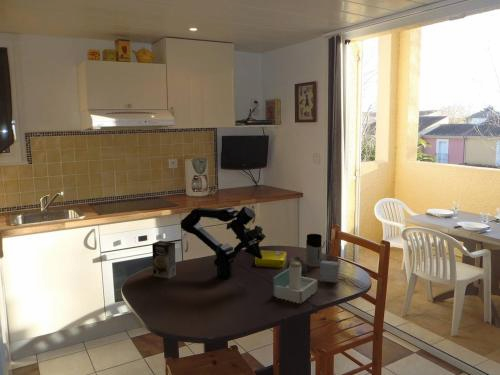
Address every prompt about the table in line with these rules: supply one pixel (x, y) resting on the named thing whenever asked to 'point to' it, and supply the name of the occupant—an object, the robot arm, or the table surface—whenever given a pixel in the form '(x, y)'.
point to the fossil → (303, 267)
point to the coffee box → (164, 259)
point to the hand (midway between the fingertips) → (261, 258)
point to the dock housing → (295, 294)
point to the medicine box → (329, 271)
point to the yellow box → (271, 259)
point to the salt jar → (295, 275)
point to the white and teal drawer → (285, 281)
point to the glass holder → (314, 250)
